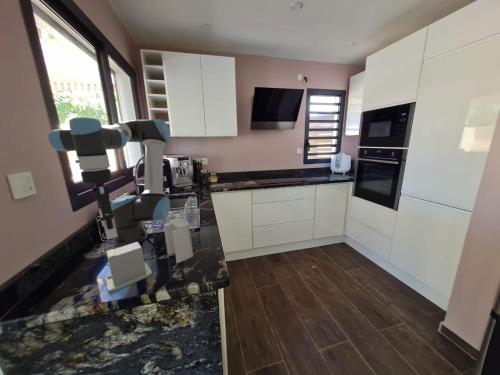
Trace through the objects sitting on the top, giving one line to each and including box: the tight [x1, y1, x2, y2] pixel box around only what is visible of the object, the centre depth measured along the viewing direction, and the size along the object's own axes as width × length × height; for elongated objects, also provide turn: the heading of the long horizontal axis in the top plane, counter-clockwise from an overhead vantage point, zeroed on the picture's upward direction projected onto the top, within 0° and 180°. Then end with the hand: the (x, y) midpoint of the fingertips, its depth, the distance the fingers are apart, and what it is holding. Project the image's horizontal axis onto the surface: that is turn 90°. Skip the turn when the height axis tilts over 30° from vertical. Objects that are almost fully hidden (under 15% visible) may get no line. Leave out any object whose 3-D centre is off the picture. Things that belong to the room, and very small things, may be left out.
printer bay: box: [163, 217, 194, 264], centre depth 85 cm, size 11×7×15 cm, turn 41°
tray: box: [104, 261, 153, 294], centre depth 73 cm, size 10×14×1 cm
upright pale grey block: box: [105, 242, 146, 287], centre depth 72 cm, size 6×10×11 cm, turn 131°
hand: (109, 231), depth 67 cm, fingers open, 13 cm apart
